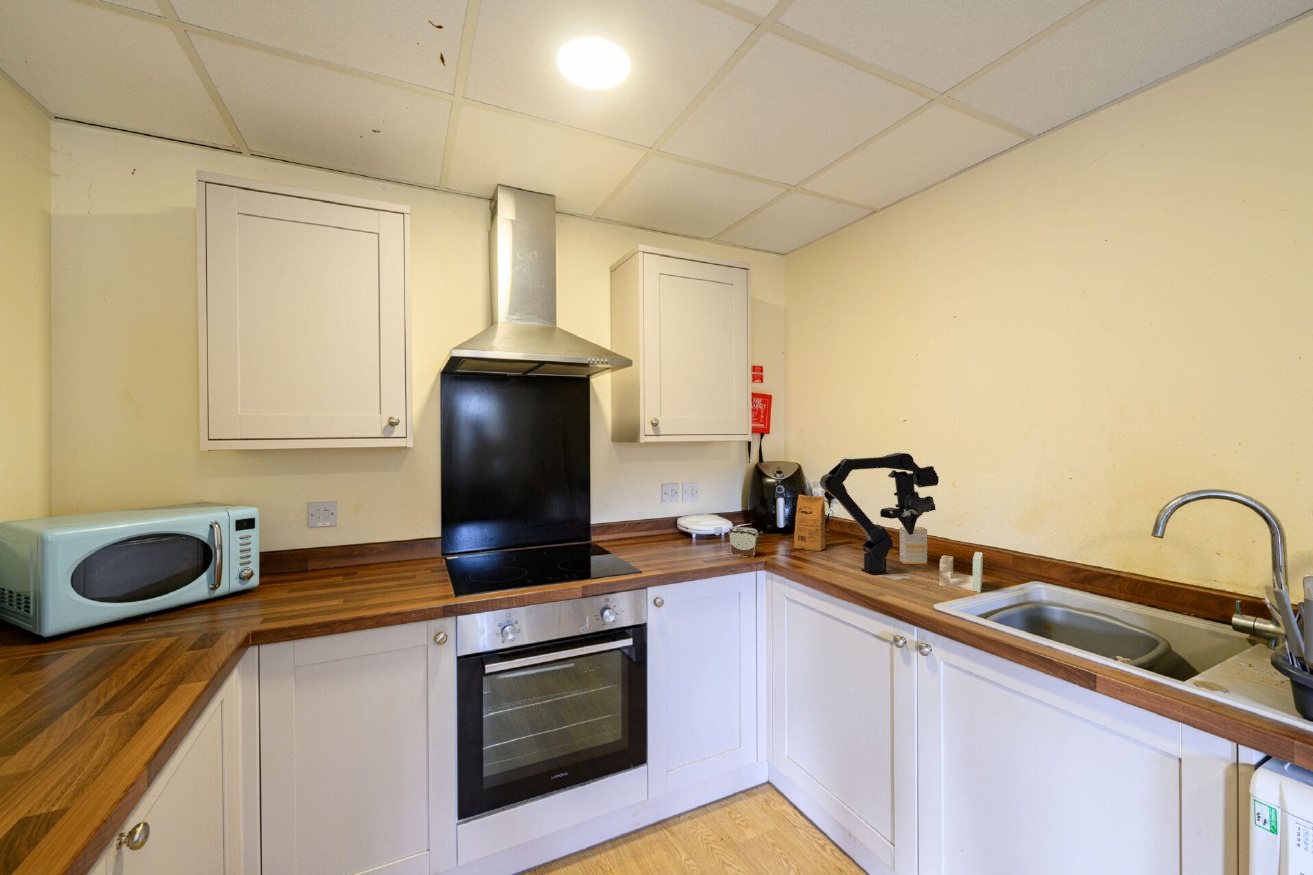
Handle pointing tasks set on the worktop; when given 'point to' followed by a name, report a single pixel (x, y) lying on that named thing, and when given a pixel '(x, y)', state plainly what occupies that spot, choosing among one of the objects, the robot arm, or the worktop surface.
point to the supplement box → (913, 546)
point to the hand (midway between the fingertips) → (910, 534)
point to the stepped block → (953, 575)
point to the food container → (743, 540)
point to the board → (977, 571)
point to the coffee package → (810, 523)
